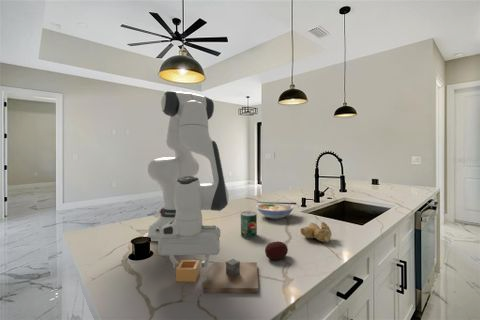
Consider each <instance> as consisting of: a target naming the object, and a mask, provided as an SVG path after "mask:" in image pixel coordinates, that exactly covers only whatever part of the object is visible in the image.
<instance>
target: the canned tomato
mask: <svg viewBox="0 0 480 320" xmlns="http://www.w3.org/2000/svg"><path fill="white" fill-rule="evenodd" d="M257 217H258V216H257V212H255V211H249V210H247V211H242V212H240V237H241V238H243V239H249V240H250V239H255V238H257V236H258V235H257V233H258V229H257V228H258V222H257V219H258V218H257Z"/></svg>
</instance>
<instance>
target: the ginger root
mask: <svg viewBox="0 0 480 320" xmlns="http://www.w3.org/2000/svg"><path fill="white" fill-rule="evenodd" d="M320 223H321V224H320V226H318V224H317V223H314V222H310V224H308V226H306V227H304V226H303V227H301V228H300V231H299V232H300V234H301V235H302V236H304V237H305V238H307V239H316V240H317V241H320V242H322V243H328V242H329V241H330V239H331V238H332V235H333V234H332V230H331V229H330V227H329V225H328V224H327V223H326V222H324V221H322V222H320Z"/></svg>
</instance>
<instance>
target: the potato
mask: <svg viewBox="0 0 480 320" xmlns="http://www.w3.org/2000/svg"><path fill="white" fill-rule="evenodd" d="M264 252H265V256H266V258H268V259H270V260H271V261H272V260H274V261H278V260H281V259H282V260H283V258H285V256H287V254H288V252H289V248H288V246H287V245H286V244H285V242H284V241H283V242H282V241H278V240H277V241H272V242H269V243H268V244H267V245H266V246H265V249H264Z"/></svg>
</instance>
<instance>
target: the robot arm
mask: <svg viewBox="0 0 480 320" xmlns="http://www.w3.org/2000/svg"><path fill="white" fill-rule="evenodd" d="M213 101H214V100H212V98H210V97H209V96H204V95H200V94H197V93H193V92H183V91H176V90H167V91H165V92H164V94H163V96H162V98H161V101H160V104H161V110H162V112H163V114H165V115H166V116H169V117H170V118H169V122H168V126H167V134H166V141H165V142H166V146H167V147H168V148H169V149H170V150H172V151H173V152H174V156H173V157H172V156H168V157H158V158H155V159H152V160H150V161H149V164H148V166H147V173H148V175H149V177H150V178H151V180H153V181H154V182H156V183H157V184H158V186H159V187H160V188H161V191H162V196H163V206H162V208H160V210H159V216H158V217H157V218H156V219H154V220H153V221H152V222H151V223H150V225H149V226H148V232H146V233H145V234H144V235H143V237H150V238H151V241H150V242H157V252H158V254H159V255H160V256H169V257H168V258H169V260H170V262H171V263H172V266H173V267H172V269H176V268H177V267H178V265H179V263H180V260H177V259H176V256H204V258H205V259H203V260H202V261H201V269H203V268H207V267H208V261H209V259H210V256H216V255H218V254H219V253H220V250H221V240H220V238H221V229H220V228H219V227H218V226H216V225H203V214H202V211H217V212H220V211H222V210H223V209H225V208H226V207H227V206H228V204H229V199H230V197H229V191H228V188H227V185H226V182H225V177H224V171H223V167H222V162H221V161H222V160H221V157H220V151H219V148H218V147H219V146H218V144H217V142H216V141H215V140H212V138H211V136H210V133H209V120H210V119H211V118H212V116H213V114H214V110H215V104H214V102H213ZM193 153H195V154H197V155H201V156H202V157H205V158H206V159H208V161H209V163H210V166H211V173H212V179H213V182H210V183H200V179H199V177H196V175H198V173H199V170H200V164H199V162H198V160H197V159H196V158H195V157H194V156H193Z"/></svg>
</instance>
